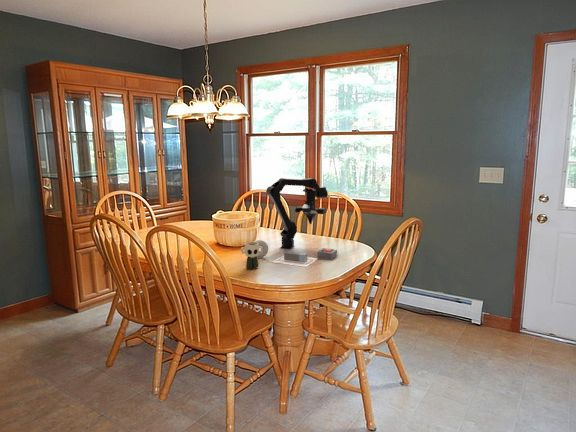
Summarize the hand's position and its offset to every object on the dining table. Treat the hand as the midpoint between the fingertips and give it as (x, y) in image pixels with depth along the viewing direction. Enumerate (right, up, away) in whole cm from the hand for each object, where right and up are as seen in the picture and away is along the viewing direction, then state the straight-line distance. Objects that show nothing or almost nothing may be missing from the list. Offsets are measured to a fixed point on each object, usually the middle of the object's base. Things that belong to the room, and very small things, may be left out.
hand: (310, 224), depth 261 cm
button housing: (+8, -18, -24) cm, 31 cm away
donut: (-30, -18, -26) cm, 44 cm away
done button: (+8, -17, -24) cm, 31 cm away
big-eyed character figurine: (-32, -22, -44) cm, 59 cm away
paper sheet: (-10, -19, -31) cm, 38 cm away
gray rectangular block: (-10, -19, -31) cm, 38 cm away
